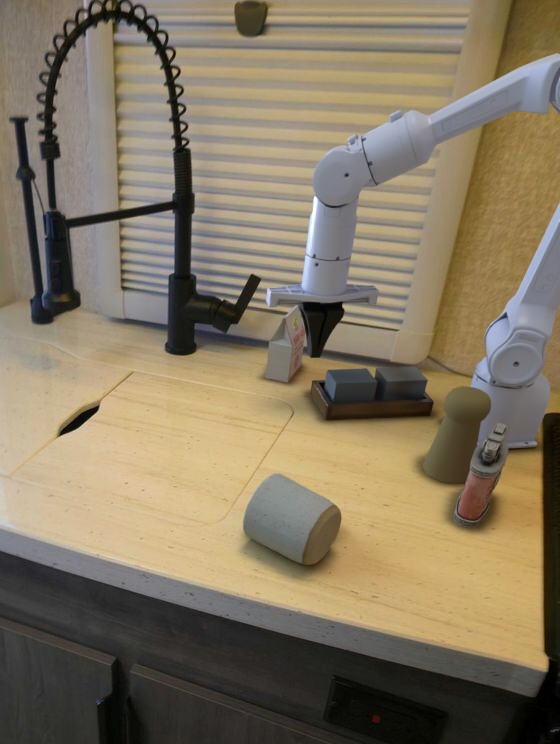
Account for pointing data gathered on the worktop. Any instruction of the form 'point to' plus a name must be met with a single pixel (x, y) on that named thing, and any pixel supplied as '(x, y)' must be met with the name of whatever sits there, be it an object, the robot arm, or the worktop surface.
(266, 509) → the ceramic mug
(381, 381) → the brown wooden tray
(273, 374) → the milk carton
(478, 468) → the lighter
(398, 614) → the worktop surface
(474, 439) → the olive pawn piece
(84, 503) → the worktop surface
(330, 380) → the blue gray block
